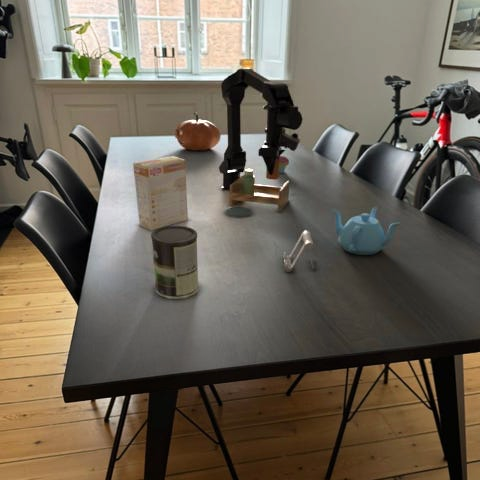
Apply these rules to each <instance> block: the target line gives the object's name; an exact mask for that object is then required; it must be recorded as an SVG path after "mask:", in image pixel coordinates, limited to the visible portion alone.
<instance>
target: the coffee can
mask: <svg viewBox="0 0 480 480" xmlns="http://www.w3.org/2000/svg"><path fill="white" fill-rule="evenodd" d="M150 239H151V245H152V246H151V247H152V256H153V257H152V258H153V268H154V269H153V270H154V281H155V292H156V294H157V295H158V296H160V297H162V298H165V299H169V300H183V299H188V298H191V297H192V296H194V295H196V294H197V293H198V292H199V273H198V272H199V271H198V270H199V269H198V232H197V230H195V229H194V228H191V227H188V226H182V225H168V226H164V227H161V228H157V229H154V230H152V232H151V234H150Z"/></svg>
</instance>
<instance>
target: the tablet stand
mask: <svg viewBox="0 0 480 480" xmlns="http://www.w3.org/2000/svg"><path fill="white" fill-rule="evenodd" d="M302 241H303V244H302V246H301V248H300V249H299V252H298V253H297V255H296V256H295V258H294V260H293V262H291V261H292V258H293V256H294V254H295V252H296V251H297V250H298V248H299V245H300V244H301V242H302ZM314 247H315V245H314V242H313V238H312V234H311V232H310V231H309V230H304V231H302V233H301V235H300V237H299V238H298V240H297V242H296V243H295V245H294V247H293V249H292V251H291V252H290V253H289V254H287V251H283V255H282V256H283V265H284V271H285V272H287V273H291V272H292V271H293V270H294V268H295V267H296V265H297V263H298V261H299V259H300V258H301V256H302V254H303V253H304V251H306V253H307V256H308V259H309V262H310V265H311V267H312V270H315V267H314V263H313V260H312V257H311V253H310V251H312V250H313V249H314Z"/></svg>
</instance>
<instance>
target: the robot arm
mask: <svg viewBox="0 0 480 480" xmlns="http://www.w3.org/2000/svg"><path fill="white" fill-rule="evenodd" d="M249 87H250V88H252V89H253V90H255V91H257V92H259V93H260V94H261V98H262V99H263V100H264V101H265V102H266V104H265V105H264V106H263V110H266V127H265V129H264V133H265V141H264V142H263V145H262V146H261V147H260V148H259V149H258V153H257V154H258V157H261V158H262V161H263V162H264V164H265V168H266V169H268V172H269V174H270V175H272V174H273V170H274V166H275V161H276V159H277V158H278V160H279V158H280V156H282V154H283V153H285V152H286V149H289V150H290V151H293V152H295V151H296V150H297V149H298V146H299V144H300V143H301V139H300V138H299V134H298V133H297V132H293V133H292V134H288V133H286V129H288V130H292V131H296V130H298V129H299V128H300V127H301V126H302V124H303V116H302V115H303V114H302V113H301V111H299V106H296V105H295V104H294V100H293V98H292V96H291V95H292V94H291V93H290V89H289V86H288V84H287V83H284V82H280V81H273V80H270V79H268V78H266V77H265V76H263V75H261V74H259V73H258V72H256V71H254V70H253V68H251V67H240V68H238V69H236V71H235V72H233V73H232V74H229V75H228V76H227V77H225V78H224V79H223V80H222V82H221V84H220V89H221V95H222V99H223V101H224V102H225V104H226V120H227V121H226V123H227V124H226V125H227V146H226V149H225V151H224V153H223V160H222V162H221V163H220V164H219V166H218V171H219V173H220V174H222V186H221V190H226V191H227V190H229V191H230V185H231V184H232V183H234V182H235V181H236V180H237V179H239V178H240V177H241V176H242V175H241V173H245V167H246V164H247V152H246V150H244V149H243V147H242V136H241V135H242V134H241V133H242V131H241V130H242V129H241V122H242V121H241V120H242V119H241V104H242V102H243V101H244V99H245V96H246V90H247V89H248V88H249ZM282 148H284V149H282Z"/></svg>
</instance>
